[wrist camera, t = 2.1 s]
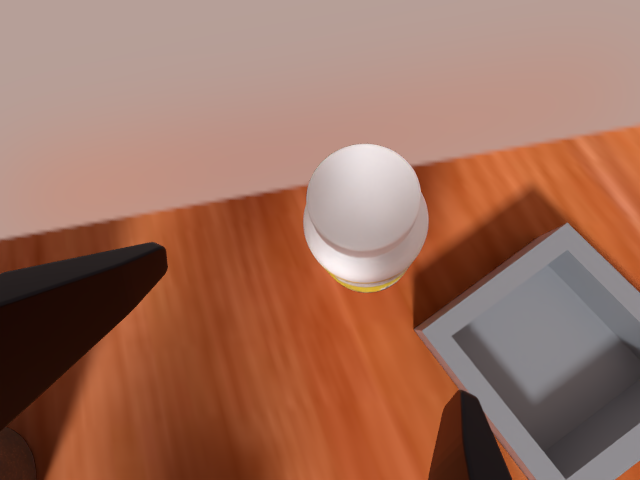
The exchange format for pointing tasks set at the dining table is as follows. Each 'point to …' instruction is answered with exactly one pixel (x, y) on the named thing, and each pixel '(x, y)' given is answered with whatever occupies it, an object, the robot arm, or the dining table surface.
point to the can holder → (550, 358)
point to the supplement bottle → (365, 216)
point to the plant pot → (15, 457)
